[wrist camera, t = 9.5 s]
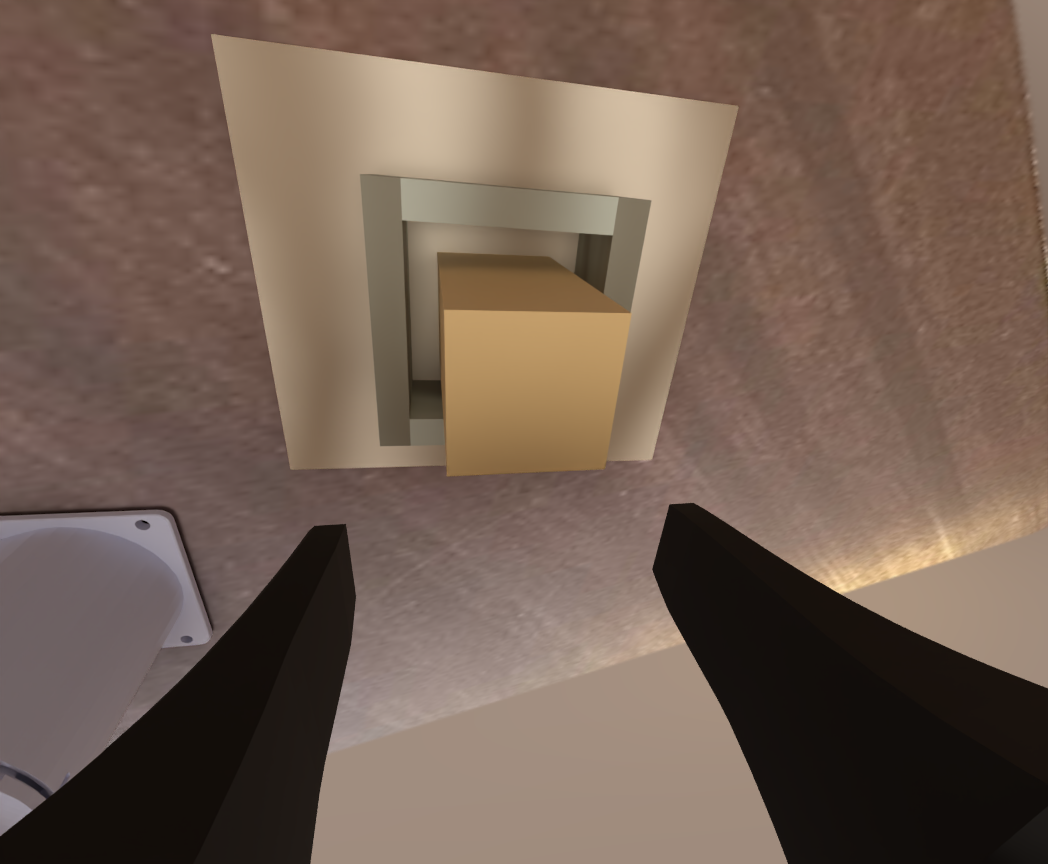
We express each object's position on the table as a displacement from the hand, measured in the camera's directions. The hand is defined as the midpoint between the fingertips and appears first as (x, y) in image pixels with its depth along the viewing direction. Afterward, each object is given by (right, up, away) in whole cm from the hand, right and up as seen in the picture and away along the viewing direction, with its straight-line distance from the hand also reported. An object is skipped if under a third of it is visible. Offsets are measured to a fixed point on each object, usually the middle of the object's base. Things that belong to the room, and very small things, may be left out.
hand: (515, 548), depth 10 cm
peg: (-1, +7, +7) cm, 10 cm away
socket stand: (-1, +8, +8) cm, 11 cm away
